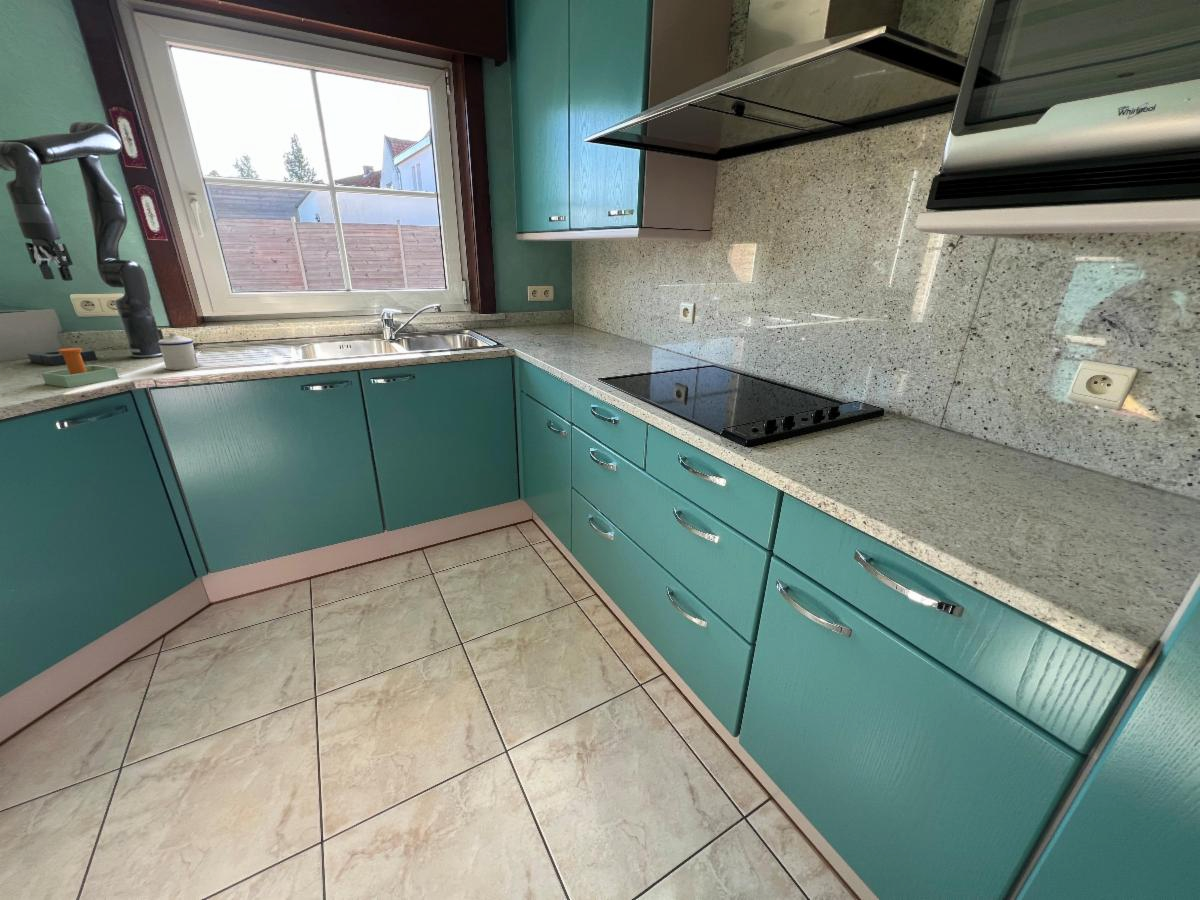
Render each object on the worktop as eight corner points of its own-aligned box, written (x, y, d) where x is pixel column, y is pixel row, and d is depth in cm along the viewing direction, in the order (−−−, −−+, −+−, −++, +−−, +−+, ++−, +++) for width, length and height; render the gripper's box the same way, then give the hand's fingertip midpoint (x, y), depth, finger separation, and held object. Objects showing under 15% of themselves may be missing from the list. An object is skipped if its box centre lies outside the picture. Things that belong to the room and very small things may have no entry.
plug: (85, 376, 149) (74, 347, 145) (96, 377, 147) (85, 348, 144) (65, 379, 144) (53, 349, 141) (76, 381, 143) (64, 351, 140)
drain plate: (75, 356, 177) (72, 347, 176) (97, 359, 174) (94, 350, 173) (30, 362, 166) (26, 353, 165) (52, 365, 163) (49, 356, 162)
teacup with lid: (205, 366, 168) (196, 332, 164) (175, 371, 160) (164, 335, 156) (185, 362, 173) (175, 329, 168) (154, 367, 165) (143, 332, 161)
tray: (96, 375, 153) (93, 364, 152) (118, 378, 151) (115, 367, 149) (45, 384, 143) (41, 372, 141) (68, 387, 140) (64, 376, 139)
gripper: (68, 222, 144) (89, 280, 151) (37, 221, 148) (59, 278, 154) (35, 221, 138) (58, 281, 144) (3, 220, 142) (27, 279, 148)
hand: (58, 279), depth 149 cm, fingers open, 8 cm apart
